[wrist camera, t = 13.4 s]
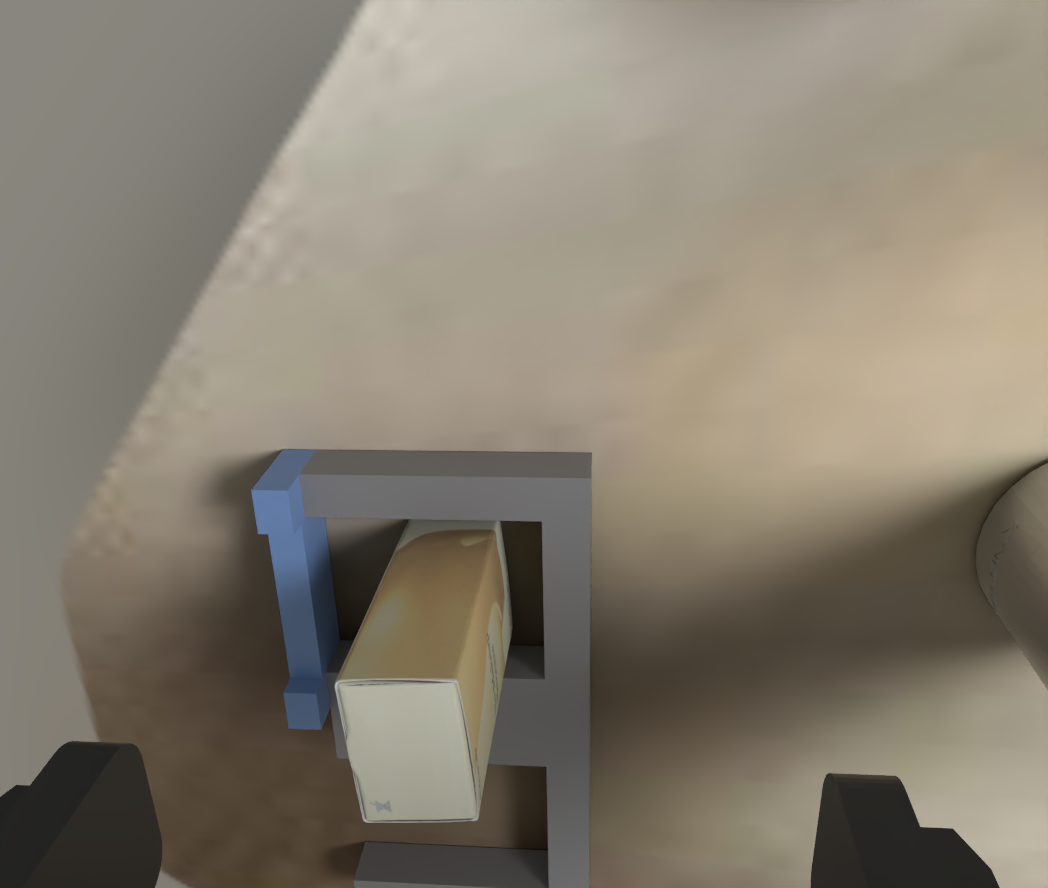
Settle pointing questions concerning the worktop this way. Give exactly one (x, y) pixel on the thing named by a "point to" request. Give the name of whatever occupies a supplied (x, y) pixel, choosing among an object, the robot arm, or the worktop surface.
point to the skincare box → (428, 674)
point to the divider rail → (531, 671)
